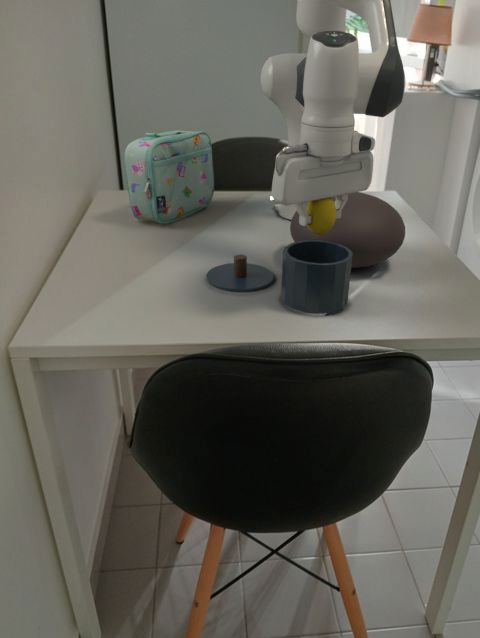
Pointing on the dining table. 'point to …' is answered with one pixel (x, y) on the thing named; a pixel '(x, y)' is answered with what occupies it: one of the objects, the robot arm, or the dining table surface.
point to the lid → (240, 276)
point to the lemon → (321, 215)
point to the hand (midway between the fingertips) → (320, 221)
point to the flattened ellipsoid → (361, 229)
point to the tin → (316, 276)
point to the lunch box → (169, 175)
